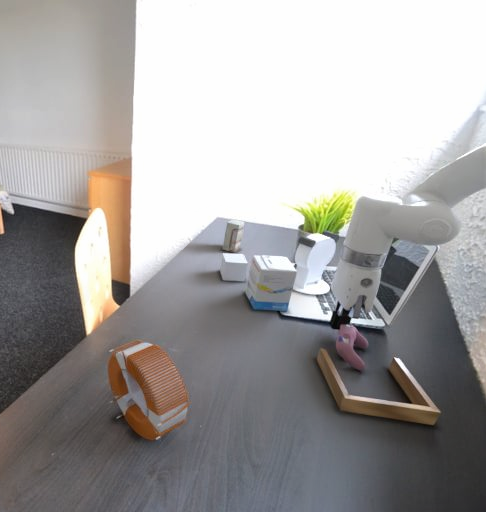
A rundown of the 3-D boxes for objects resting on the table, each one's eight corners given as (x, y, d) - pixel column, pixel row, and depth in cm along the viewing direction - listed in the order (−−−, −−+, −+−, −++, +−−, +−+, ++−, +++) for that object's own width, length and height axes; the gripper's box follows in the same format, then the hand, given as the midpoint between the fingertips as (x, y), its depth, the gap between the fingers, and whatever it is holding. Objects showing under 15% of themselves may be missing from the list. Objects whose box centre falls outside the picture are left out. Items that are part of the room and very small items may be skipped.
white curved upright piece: (303, 271, 111) (315, 225, 105) (340, 288, 102) (356, 238, 96) (274, 280, 107) (285, 232, 100) (310, 298, 98) (325, 247, 91)
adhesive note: (244, 281, 107) (248, 263, 104) (222, 280, 108) (225, 262, 105) (240, 271, 112) (243, 254, 109) (219, 270, 113) (222, 253, 110)
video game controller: (344, 346, 83) (336, 318, 82) (370, 346, 79) (361, 317, 78) (338, 371, 76) (329, 341, 75) (365, 372, 72) (356, 341, 72)
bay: (394, 369, 74) (399, 358, 72) (434, 425, 62) (441, 412, 61) (316, 359, 77) (320, 348, 76) (340, 410, 65) (345, 398, 64)
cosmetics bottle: (234, 253, 124) (239, 225, 119) (221, 249, 127) (226, 222, 122) (240, 248, 127) (245, 221, 123) (228, 245, 130) (232, 218, 126)
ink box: (288, 311, 92) (298, 270, 87) (252, 309, 94) (261, 269, 89) (277, 294, 100) (286, 255, 95) (244, 292, 101) (252, 254, 96)
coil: (132, 386, 71) (135, 323, 65) (187, 446, 60) (197, 376, 53) (102, 400, 68) (102, 336, 62) (154, 466, 57) (160, 395, 50)
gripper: (402, 274, 68) (371, 351, 76) (367, 242, 81) (344, 311, 89) (356, 270, 70) (330, 346, 78) (329, 239, 83) (310, 307, 91)
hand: (337, 327), depth 83 cm, fingers closed
